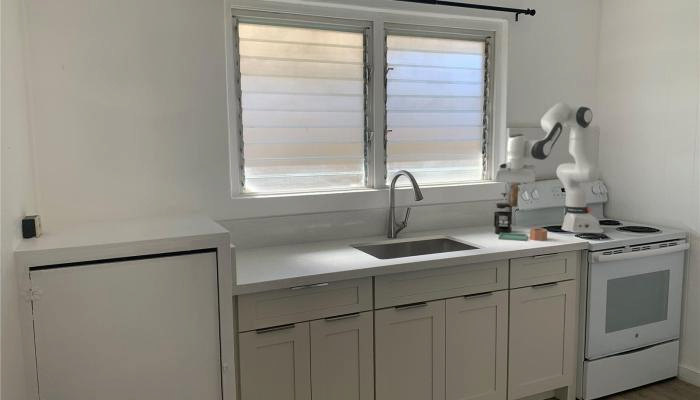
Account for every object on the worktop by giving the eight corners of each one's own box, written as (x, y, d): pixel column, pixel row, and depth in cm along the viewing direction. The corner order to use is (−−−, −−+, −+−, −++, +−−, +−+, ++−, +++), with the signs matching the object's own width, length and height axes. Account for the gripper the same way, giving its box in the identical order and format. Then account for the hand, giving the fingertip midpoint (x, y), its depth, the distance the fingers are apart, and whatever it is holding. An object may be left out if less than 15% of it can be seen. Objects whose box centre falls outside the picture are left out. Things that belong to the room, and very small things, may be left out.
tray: (526, 237, 290) (527, 234, 290) (525, 242, 277) (526, 239, 277) (500, 236, 295) (500, 232, 295) (498, 241, 282) (498, 237, 282)
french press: (516, 234, 301) (517, 193, 298) (504, 235, 296) (505, 194, 293) (500, 230, 311) (502, 191, 308) (488, 232, 307) (490, 192, 304)
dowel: (517, 205, 285) (518, 185, 283) (517, 206, 281) (518, 186, 280) (510, 205, 286) (511, 185, 285) (510, 206, 283) (510, 185, 281)
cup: (546, 239, 284) (547, 228, 283) (546, 243, 276) (547, 231, 276) (530, 238, 287) (530, 227, 286) (529, 242, 279) (530, 230, 278)
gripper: (536, 165, 280) (535, 191, 282) (496, 164, 287) (495, 189, 289) (536, 165, 275) (535, 192, 276) (495, 165, 282) (494, 191, 283)
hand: (514, 191), depth 283 cm, fingers closed on dowel, 4 cm apart
